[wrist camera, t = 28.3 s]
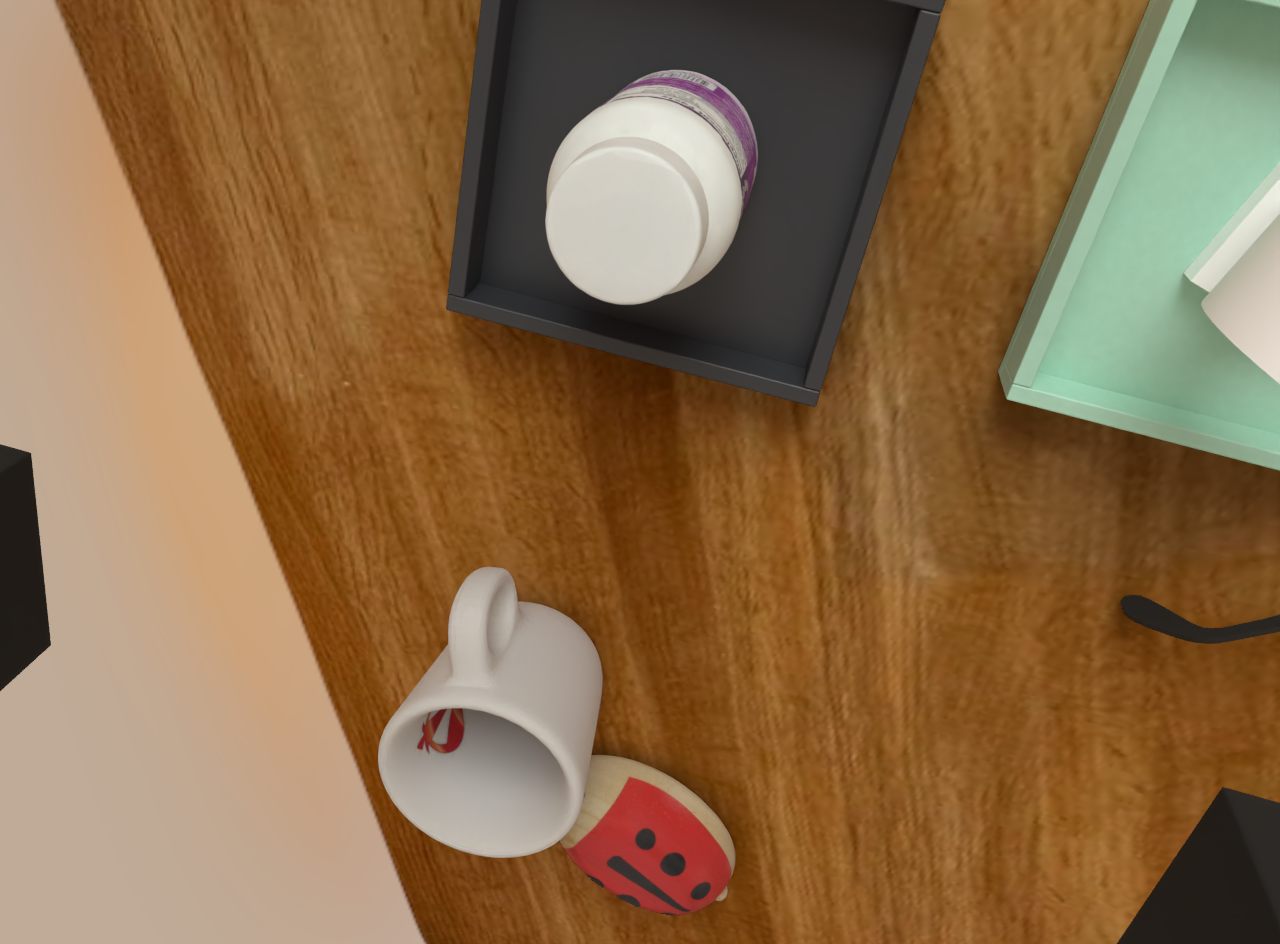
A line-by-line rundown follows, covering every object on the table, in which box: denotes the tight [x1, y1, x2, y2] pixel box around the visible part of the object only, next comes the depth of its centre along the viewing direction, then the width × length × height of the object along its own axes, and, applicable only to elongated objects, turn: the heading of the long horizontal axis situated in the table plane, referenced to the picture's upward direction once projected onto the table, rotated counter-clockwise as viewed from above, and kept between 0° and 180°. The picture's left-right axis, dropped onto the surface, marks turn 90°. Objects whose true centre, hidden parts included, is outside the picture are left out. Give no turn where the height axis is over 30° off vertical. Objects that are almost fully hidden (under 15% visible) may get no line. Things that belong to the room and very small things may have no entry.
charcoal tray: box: [446, 0, 946, 407], centre depth 34 cm, size 13×13×2 cm
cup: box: [378, 567, 603, 858], centre depth 42 cm, size 11×8×8 cm
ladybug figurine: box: [559, 755, 735, 915], centre depth 48 cm, size 7×10×4 cm
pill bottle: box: [545, 70, 758, 305], centre depth 30 cm, size 5×5×10 cm
